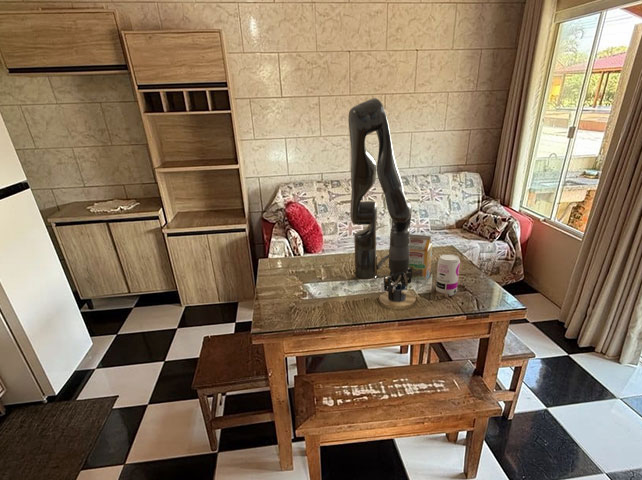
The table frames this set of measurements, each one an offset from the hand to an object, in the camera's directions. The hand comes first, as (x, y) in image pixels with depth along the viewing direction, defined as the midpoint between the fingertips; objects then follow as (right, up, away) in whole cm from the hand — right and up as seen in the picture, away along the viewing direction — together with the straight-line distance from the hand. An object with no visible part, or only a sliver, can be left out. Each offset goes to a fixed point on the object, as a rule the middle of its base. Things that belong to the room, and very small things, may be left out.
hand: (397, 297), depth 157 cm
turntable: (0, -2, +1) cm, 2 cm away
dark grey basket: (0, 0, 0) cm, 1 cm away
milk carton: (+11, +10, +22) cm, 27 cm away
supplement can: (+21, +2, +7) cm, 22 cm away
